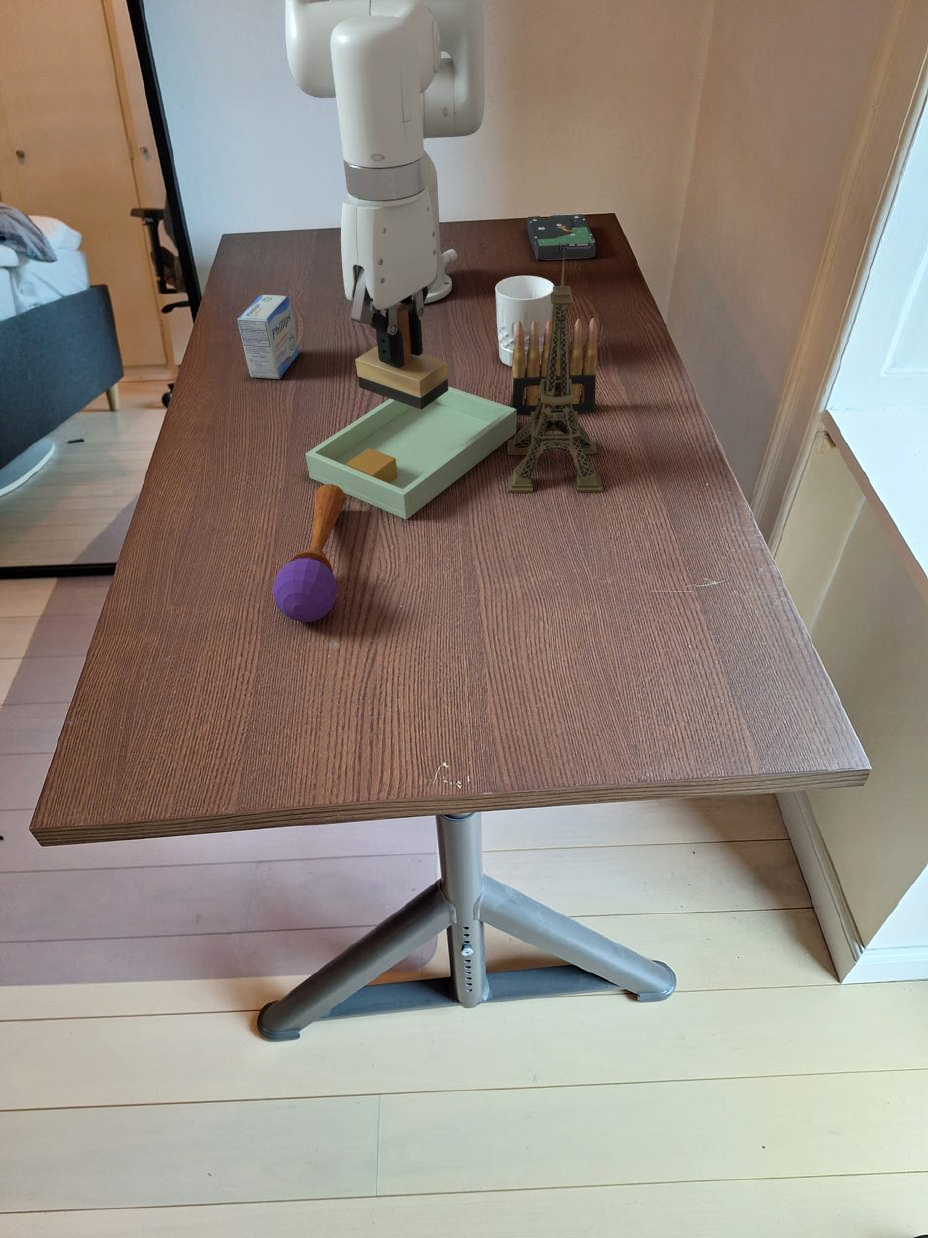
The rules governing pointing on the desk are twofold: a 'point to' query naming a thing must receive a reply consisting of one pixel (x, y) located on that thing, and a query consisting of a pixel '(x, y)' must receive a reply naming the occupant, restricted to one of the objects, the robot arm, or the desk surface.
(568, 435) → the eiffel tower
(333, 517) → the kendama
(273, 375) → the medicine box
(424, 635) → the desk surface
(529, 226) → the disk drive
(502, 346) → the white cup
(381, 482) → the tray
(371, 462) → the wooden block
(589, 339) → the ammunition clip
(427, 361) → the brush
